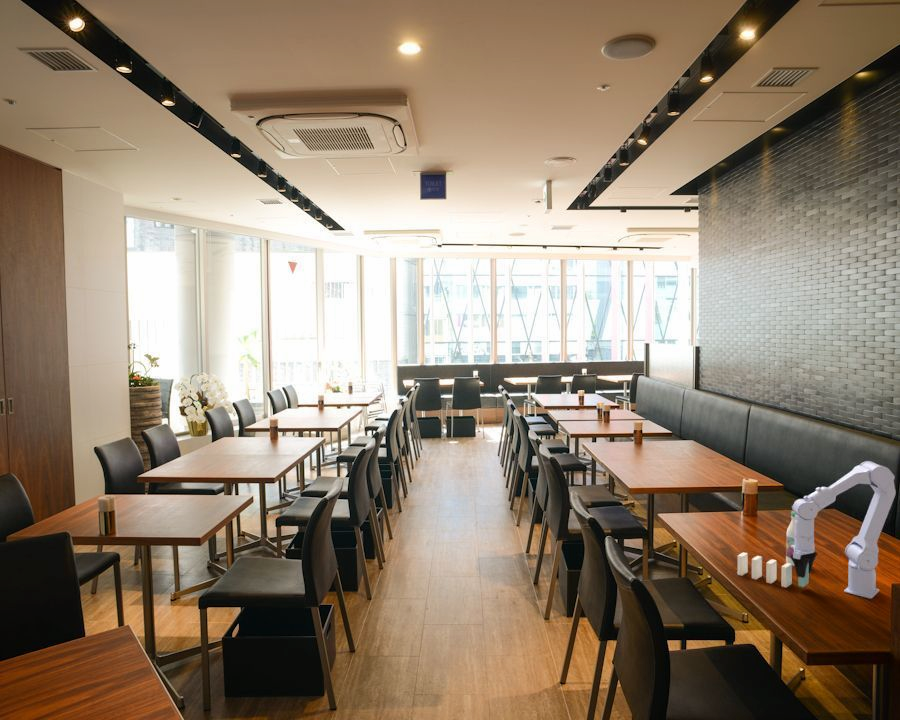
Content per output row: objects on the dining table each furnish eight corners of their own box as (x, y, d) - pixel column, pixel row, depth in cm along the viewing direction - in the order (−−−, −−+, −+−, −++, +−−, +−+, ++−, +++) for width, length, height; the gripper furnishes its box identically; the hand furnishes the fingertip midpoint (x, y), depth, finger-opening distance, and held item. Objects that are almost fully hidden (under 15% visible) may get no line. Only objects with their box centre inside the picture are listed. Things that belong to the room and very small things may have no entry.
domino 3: (771, 578, 221) (771, 559, 221) (776, 579, 220) (776, 560, 220) (766, 582, 218) (766, 562, 217) (771, 583, 216) (771, 563, 216)
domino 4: (786, 582, 217) (786, 562, 217) (791, 583, 216) (791, 563, 216) (781, 586, 214) (781, 566, 214) (786, 587, 213) (786, 567, 212)
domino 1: (743, 570, 228) (743, 552, 228) (747, 572, 227) (747, 553, 227) (737, 574, 225) (737, 555, 225) (741, 575, 224) (741, 556, 224)
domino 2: (757, 574, 225) (757, 555, 224) (761, 575, 223) (761, 556, 223) (751, 578, 221) (751, 559, 221) (756, 579, 220) (756, 560, 220)
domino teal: (803, 581, 213) (803, 561, 213) (808, 583, 212) (808, 563, 212) (798, 585, 210) (798, 565, 210) (803, 587, 209) (803, 566, 208)
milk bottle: (805, 561, 237) (806, 510, 236) (811, 568, 230) (812, 515, 229) (783, 559, 239) (784, 508, 238) (788, 566, 232) (789, 514, 231)
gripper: (799, 528, 218) (798, 566, 219) (783, 537, 208) (783, 576, 209) (821, 532, 213) (820, 571, 213) (806, 542, 203) (806, 582, 204)
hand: (803, 574), depth 211 cm, fingers closed on domino teal, 5 cm apart
